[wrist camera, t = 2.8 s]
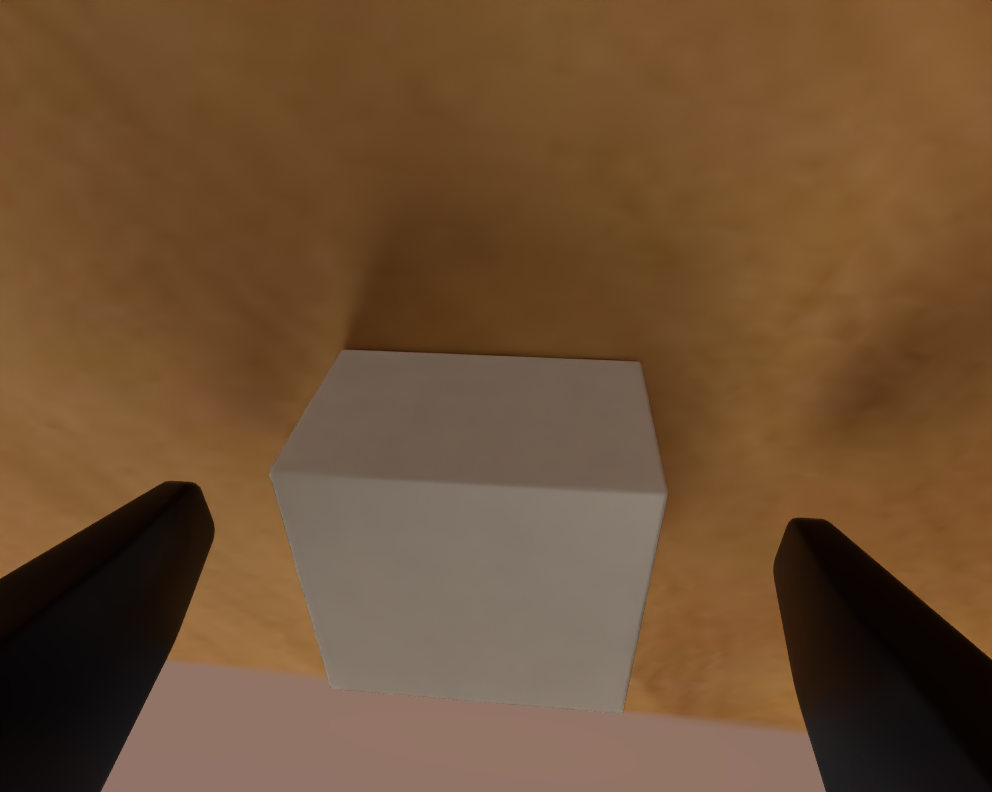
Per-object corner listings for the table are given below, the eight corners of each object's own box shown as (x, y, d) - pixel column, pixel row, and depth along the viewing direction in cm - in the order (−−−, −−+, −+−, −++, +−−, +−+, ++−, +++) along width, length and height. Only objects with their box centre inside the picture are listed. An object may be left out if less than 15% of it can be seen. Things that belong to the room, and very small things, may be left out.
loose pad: (610, 567, 10) (624, 715, 8) (375, 550, 10) (328, 690, 8) (641, 360, 8) (669, 493, 6) (340, 347, 8) (265, 470, 6)
